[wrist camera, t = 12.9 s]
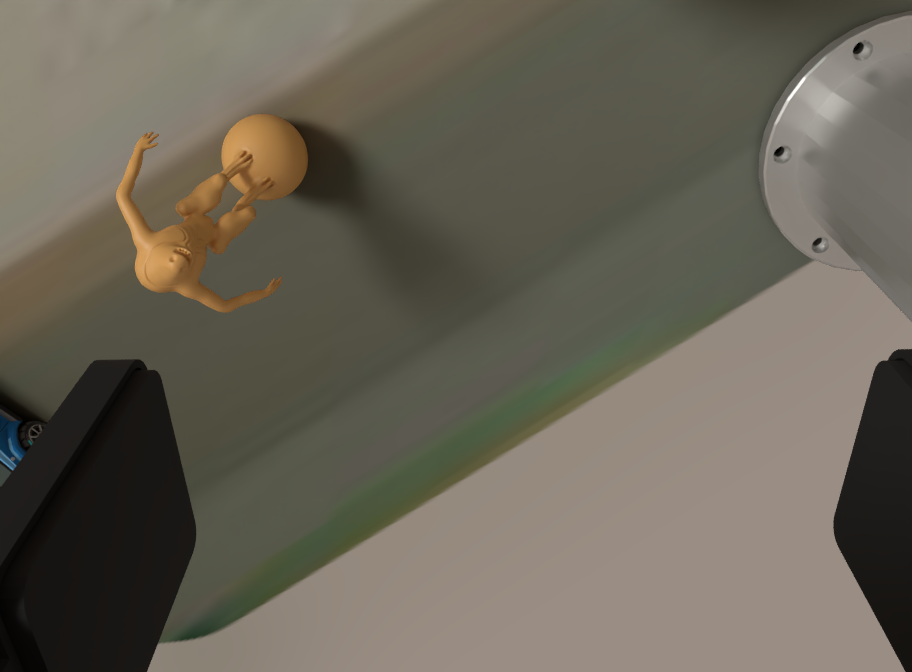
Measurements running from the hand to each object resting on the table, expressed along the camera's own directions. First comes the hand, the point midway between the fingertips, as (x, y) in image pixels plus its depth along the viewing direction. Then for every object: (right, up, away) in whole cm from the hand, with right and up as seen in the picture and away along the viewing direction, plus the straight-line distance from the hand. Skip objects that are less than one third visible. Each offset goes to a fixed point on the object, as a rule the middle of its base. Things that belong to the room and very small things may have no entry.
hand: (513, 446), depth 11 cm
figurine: (-11, +11, +30) cm, 34 cm away
